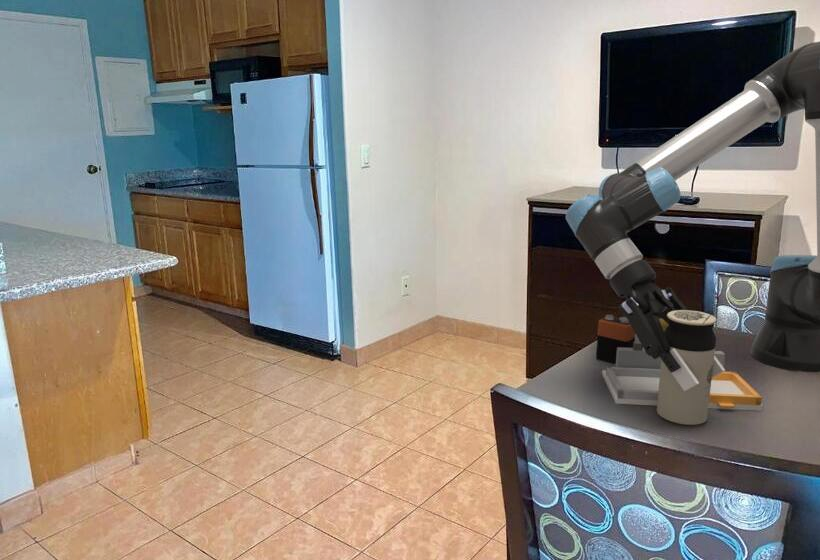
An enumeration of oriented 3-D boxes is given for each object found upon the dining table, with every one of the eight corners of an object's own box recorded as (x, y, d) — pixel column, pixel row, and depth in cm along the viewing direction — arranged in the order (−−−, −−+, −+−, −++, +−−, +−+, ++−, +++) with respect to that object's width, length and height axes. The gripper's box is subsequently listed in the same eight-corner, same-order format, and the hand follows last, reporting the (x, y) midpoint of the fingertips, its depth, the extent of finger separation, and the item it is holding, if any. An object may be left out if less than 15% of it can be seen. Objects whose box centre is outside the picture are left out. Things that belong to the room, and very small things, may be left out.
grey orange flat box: (731, 380, 120) (735, 344, 118) (765, 413, 105) (770, 374, 103) (602, 374, 123) (604, 340, 121) (617, 406, 108) (620, 367, 107)
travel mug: (648, 415, 104) (657, 316, 100) (667, 401, 109) (677, 306, 105) (696, 431, 98) (707, 326, 94) (714, 415, 104) (725, 315, 100)
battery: (625, 367, 127) (628, 322, 125) (595, 359, 131) (598, 315, 129) (633, 361, 130) (637, 317, 128) (604, 354, 135) (607, 311, 132)
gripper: (643, 273, 117) (718, 375, 108) (576, 290, 105) (654, 407, 96) (672, 250, 112) (752, 355, 103) (604, 265, 99) (689, 386, 91)
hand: (705, 380), depth 99 cm, fingers closed on travel mug, 8 cm apart
